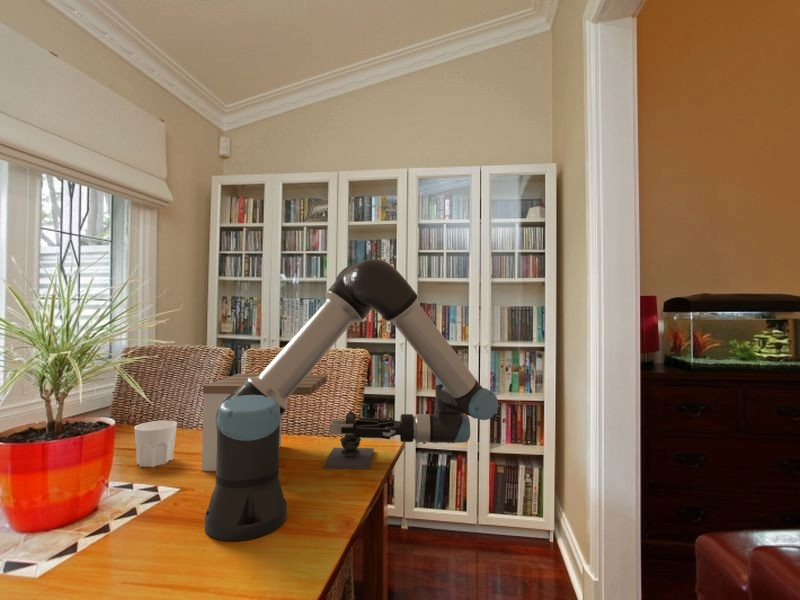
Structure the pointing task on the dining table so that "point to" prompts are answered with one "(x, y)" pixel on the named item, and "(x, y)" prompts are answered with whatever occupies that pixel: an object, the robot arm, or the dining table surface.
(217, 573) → the dining table surface
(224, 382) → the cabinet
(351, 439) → the black chess piece
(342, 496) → the dining table surface
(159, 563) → the dining table surface
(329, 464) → the mat
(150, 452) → the cup
